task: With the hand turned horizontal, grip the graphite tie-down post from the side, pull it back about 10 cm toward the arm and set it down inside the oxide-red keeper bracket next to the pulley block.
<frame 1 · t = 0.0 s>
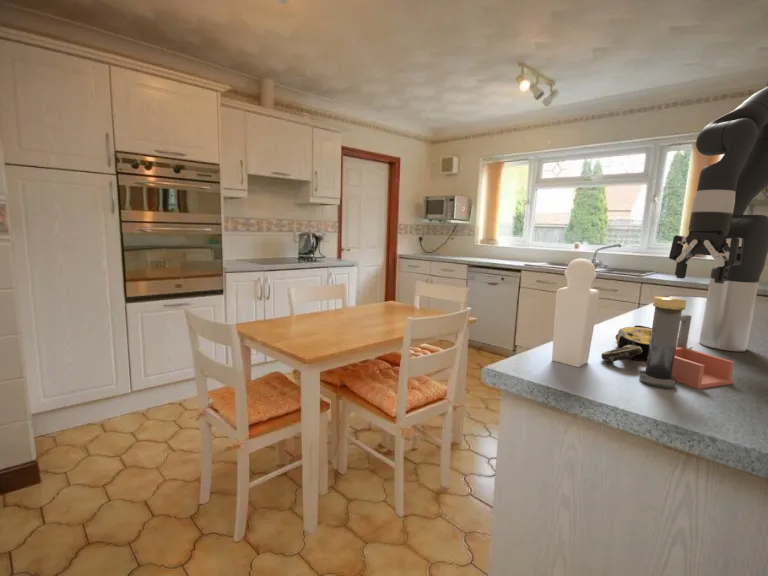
hand: (698, 280, 95), 17 cm above the countertop, tool pointing down, fingers open, 8 cm apart
white square bottle: (569, 362, 85), on the countertop
pulley block: (638, 356, 92), on the countertop
tie-down post: (656, 383, 75), on the countertop
keeper bracket: (687, 376, 79), on the countertop
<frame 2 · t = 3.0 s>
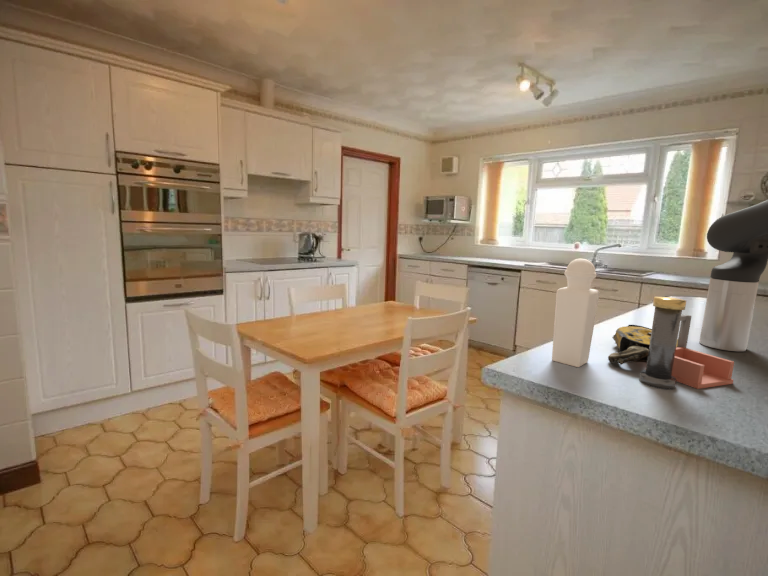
hand: (762, 246, 63), 26 cm above the countertop, tool horizontal, fingers open, 8 cm apart
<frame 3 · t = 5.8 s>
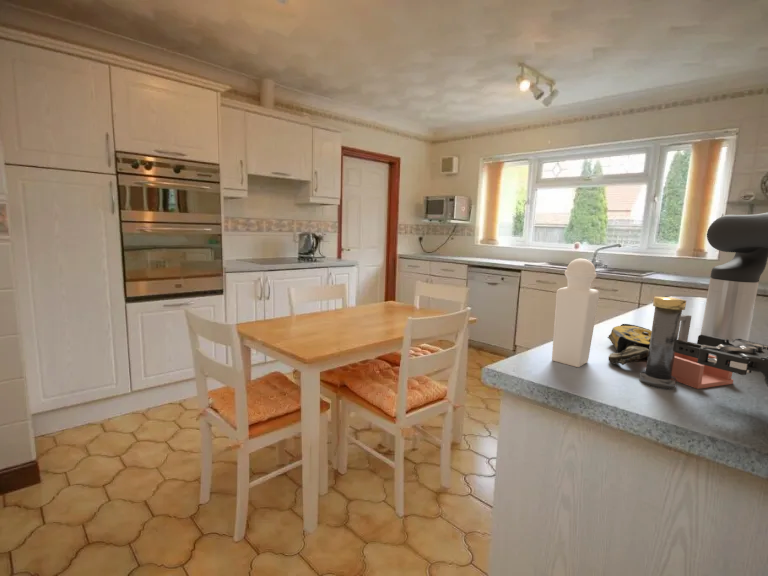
hand: (686, 342, 70), 9 cm above the countertop, tool horizontal, fingers open, 8 cm apart
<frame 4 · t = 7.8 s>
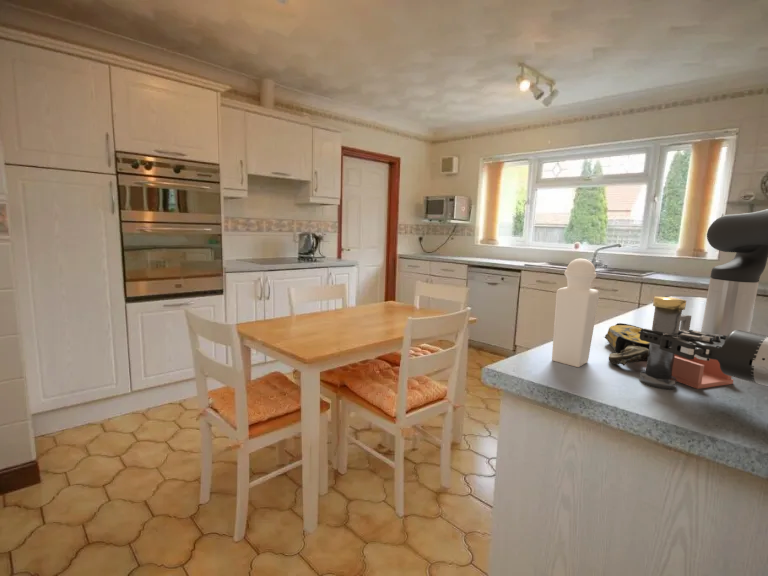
hand: (648, 332, 76), 9 cm above the countertop, tool horizontal, fingers closed on tie-down post, 4 cm apart
tie-down post: (656, 383, 75), on the countertop, touching gripper
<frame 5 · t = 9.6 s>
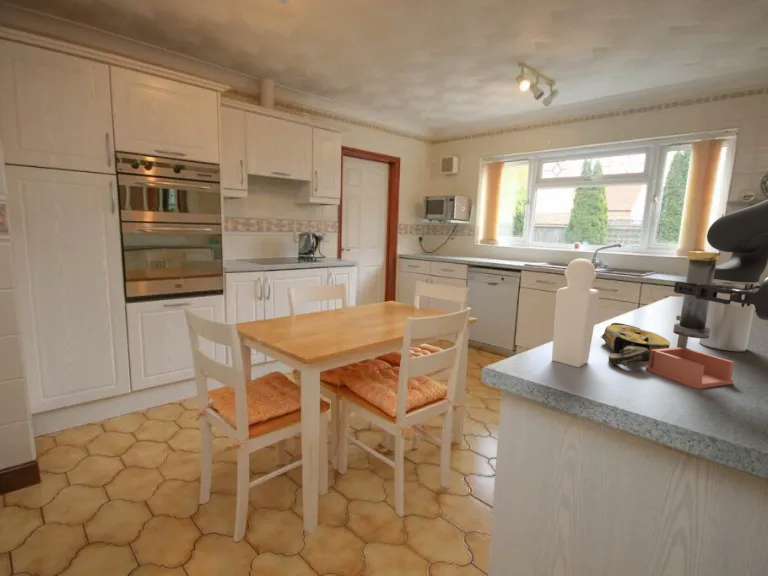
hand: (681, 286, 79), 18 cm above the countertop, tool horizontal, fingers closed on tie-down post, 4 cm apart
tie-down post: (690, 334, 78), point 9 cm above the countertop, touching gripper
when the fingers open (11 cm above the countertop, at t = 11.4 s): tie-down post stays where it is, resting on keeper bracket.
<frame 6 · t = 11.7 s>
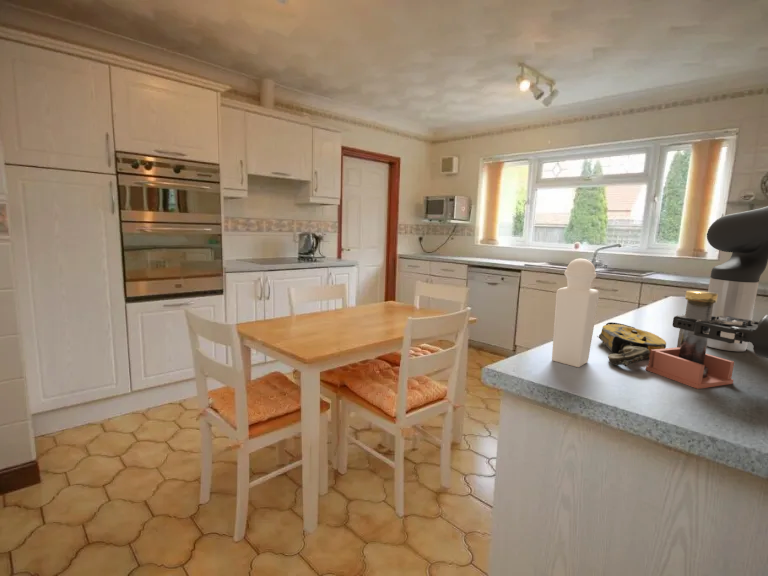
hand: (683, 319, 79), 11 cm above the countertop, tool horizontal, fingers open, 7 cm apart
tie-down post: (689, 372, 79), point 1 cm above the countertop, touching keeper bracket
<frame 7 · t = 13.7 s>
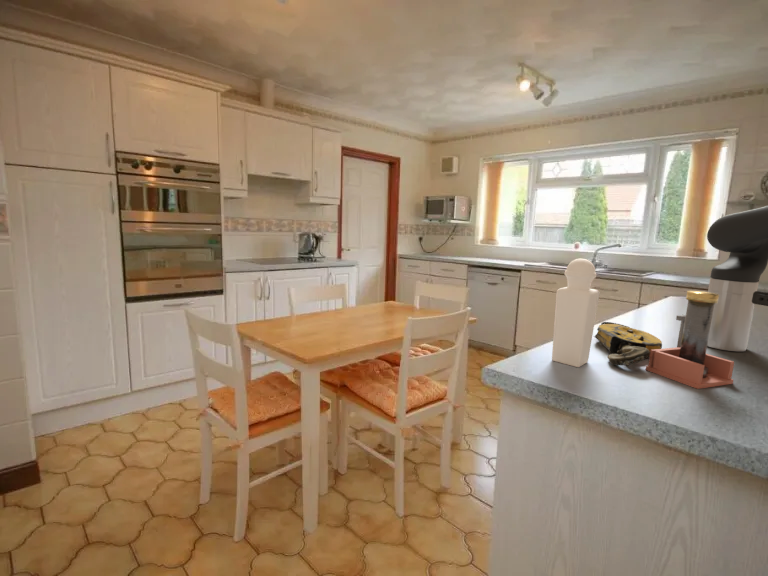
hand: (763, 295, 70), 18 cm above the countertop, tool horizontal, fingers open, 8 cm apart
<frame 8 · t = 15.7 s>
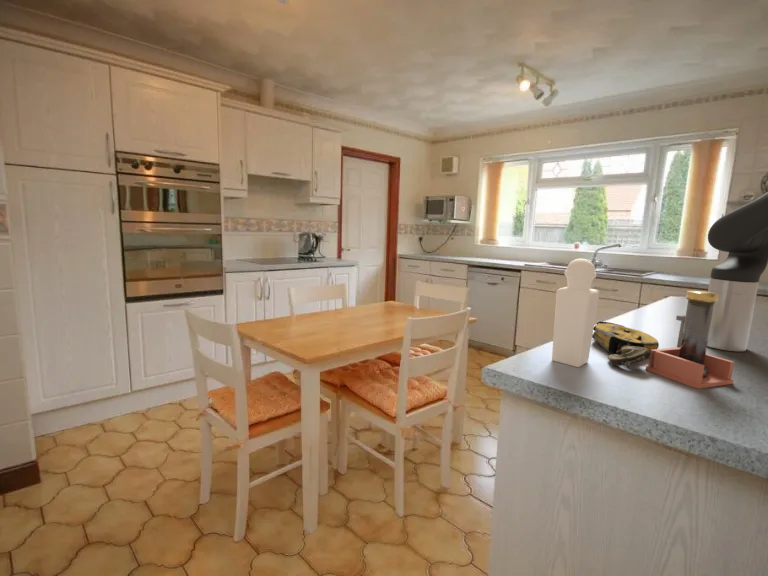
at the end: tie-down post inside the target area on the keeper bracket (0.1 cm from its centre), point 0.8 cm above the keeper bracket's base; tie-down post tilted 1°; the gripper is holding nothing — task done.
